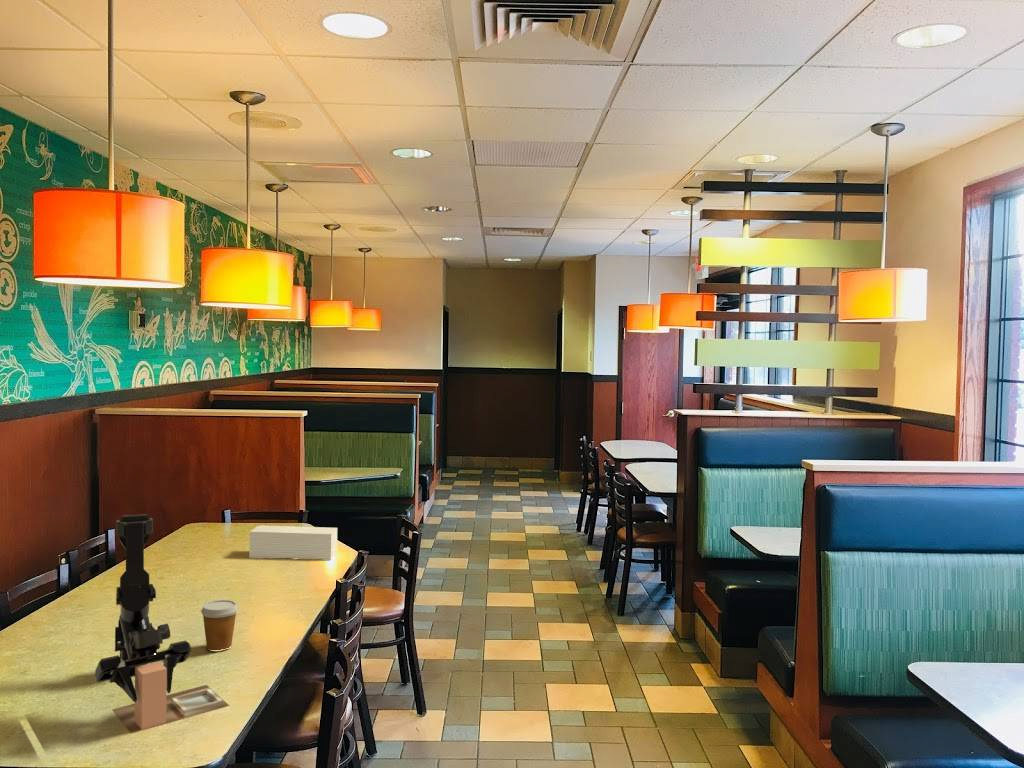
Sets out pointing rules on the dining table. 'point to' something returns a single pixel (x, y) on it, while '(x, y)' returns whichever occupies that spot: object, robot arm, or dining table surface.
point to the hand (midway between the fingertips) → (152, 696)
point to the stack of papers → (293, 542)
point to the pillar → (150, 695)
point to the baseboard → (177, 706)
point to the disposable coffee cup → (219, 623)
